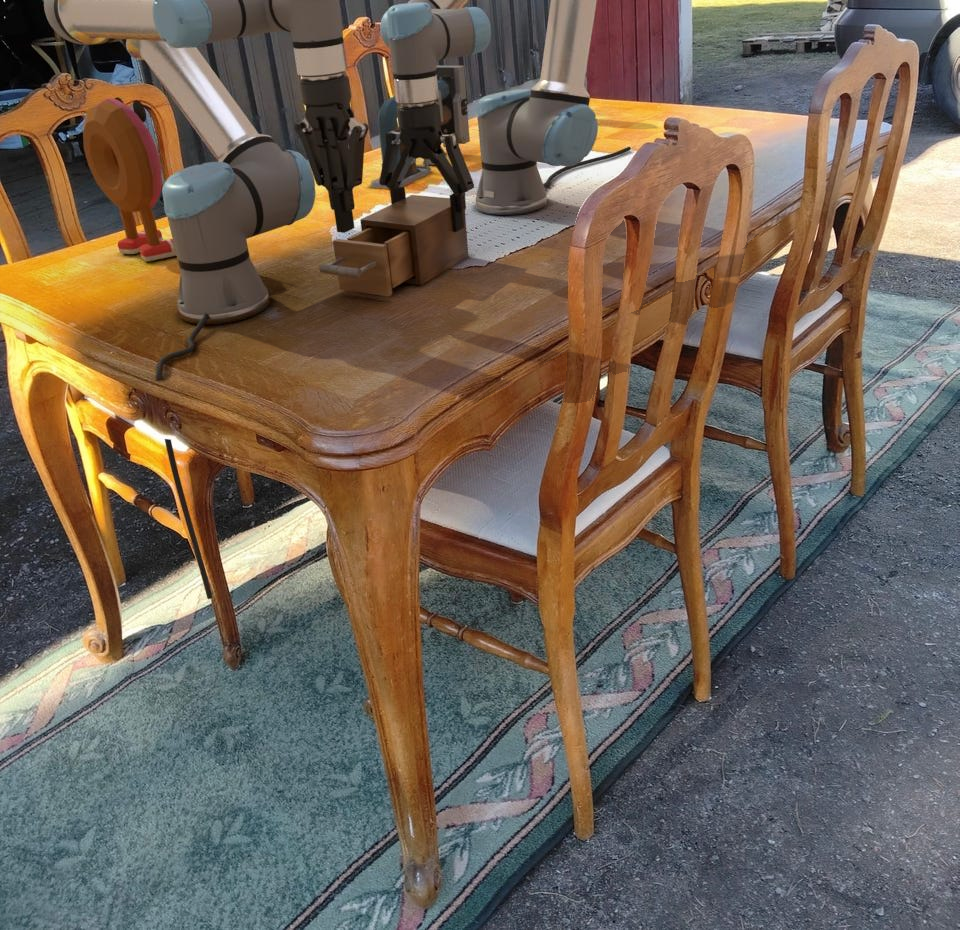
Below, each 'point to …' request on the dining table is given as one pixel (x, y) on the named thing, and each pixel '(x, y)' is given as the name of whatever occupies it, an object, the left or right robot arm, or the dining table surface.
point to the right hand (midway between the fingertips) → (430, 226)
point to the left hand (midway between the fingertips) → (346, 229)
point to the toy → (127, 172)
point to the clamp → (451, 119)
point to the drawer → (372, 260)
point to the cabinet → (425, 233)
